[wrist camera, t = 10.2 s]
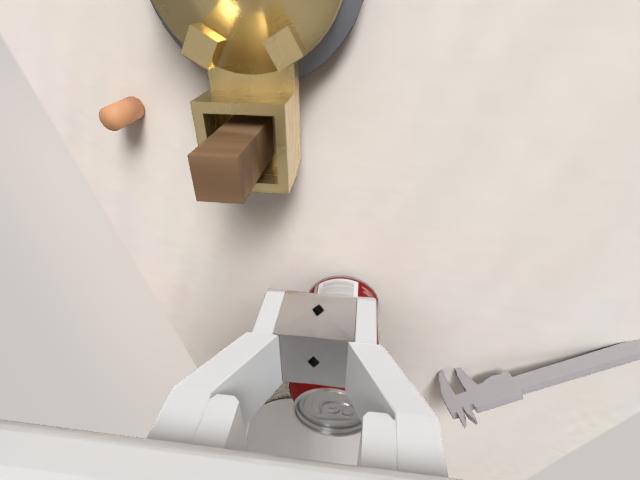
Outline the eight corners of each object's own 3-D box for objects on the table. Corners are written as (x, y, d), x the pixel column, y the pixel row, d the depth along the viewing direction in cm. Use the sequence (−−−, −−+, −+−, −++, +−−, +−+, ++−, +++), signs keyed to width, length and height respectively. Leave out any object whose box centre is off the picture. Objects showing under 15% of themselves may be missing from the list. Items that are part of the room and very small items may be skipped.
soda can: (310, 266, 34) (284, 378, 24) (384, 276, 33) (388, 394, 23) (307, 317, 38) (283, 433, 28) (372, 327, 37) (372, 447, 27)
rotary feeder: (342, 167, 26) (336, 196, 22) (191, 159, 27) (161, 186, 23) (356, -200, 16) (352, -259, 12) (120, -190, 17) (51, -240, 13)
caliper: (439, 374, 40) (449, 430, 35) (437, 368, 40) (446, 424, 35) (661, 340, 34) (713, 402, 29) (662, 332, 33) (715, 394, 28)
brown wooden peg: (274, 153, 24) (242, 204, 18) (238, 151, 24) (196, 200, 18) (271, 116, 23) (237, 157, 17) (234, 114, 23) (187, 155, 17)
